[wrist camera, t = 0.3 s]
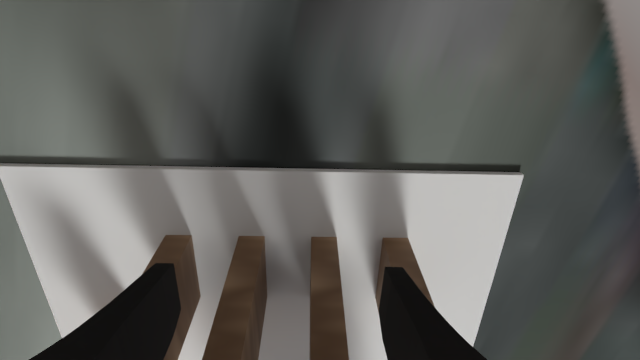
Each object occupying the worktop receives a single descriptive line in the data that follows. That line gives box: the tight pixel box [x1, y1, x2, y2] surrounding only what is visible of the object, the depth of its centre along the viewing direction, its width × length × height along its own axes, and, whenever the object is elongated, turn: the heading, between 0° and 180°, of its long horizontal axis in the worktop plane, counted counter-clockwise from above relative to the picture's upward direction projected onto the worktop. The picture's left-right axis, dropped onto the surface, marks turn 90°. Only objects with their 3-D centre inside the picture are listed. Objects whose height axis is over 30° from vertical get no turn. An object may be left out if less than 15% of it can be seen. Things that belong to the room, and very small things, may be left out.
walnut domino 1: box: [143, 235, 201, 360], centre depth 21 cm, size 2×5×9 cm, turn 178°
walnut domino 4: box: [375, 238, 435, 313], centre depth 21 cm, size 2×5×9 cm, turn 178°
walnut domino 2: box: [202, 236, 267, 360], centre depth 21 cm, size 2×5×9 cm, turn 178°
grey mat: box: [0, 163, 524, 360], centre depth 25 cm, size 16×30×1 cm, turn 88°
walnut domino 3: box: [309, 237, 349, 360], centre depth 21 cm, size 2×5×9 cm, turn 178°
